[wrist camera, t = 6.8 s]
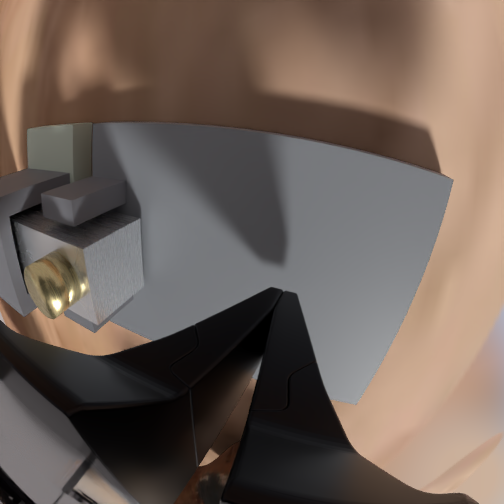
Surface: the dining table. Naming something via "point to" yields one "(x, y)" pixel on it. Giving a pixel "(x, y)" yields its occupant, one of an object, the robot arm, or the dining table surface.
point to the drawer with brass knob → (79, 262)
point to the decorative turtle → (209, 480)
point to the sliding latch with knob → (242, 229)
